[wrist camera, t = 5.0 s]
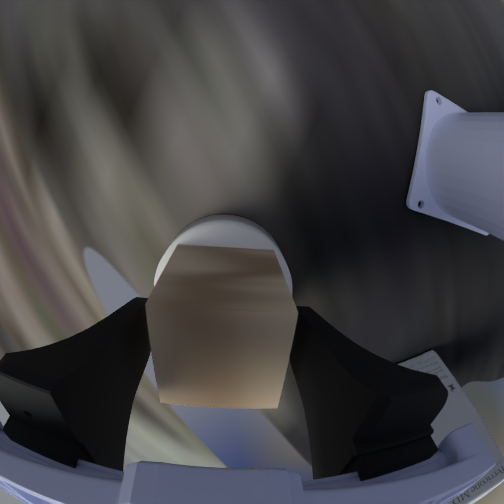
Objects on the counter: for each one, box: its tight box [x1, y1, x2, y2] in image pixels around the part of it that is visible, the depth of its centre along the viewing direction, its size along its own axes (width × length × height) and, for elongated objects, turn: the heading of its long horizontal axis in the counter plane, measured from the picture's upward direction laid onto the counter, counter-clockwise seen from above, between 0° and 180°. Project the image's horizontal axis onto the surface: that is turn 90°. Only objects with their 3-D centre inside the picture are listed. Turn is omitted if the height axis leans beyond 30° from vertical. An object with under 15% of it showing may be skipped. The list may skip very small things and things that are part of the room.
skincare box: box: [398, 350, 504, 504], centre depth 14 cm, size 8×6×15 cm
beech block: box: [145, 244, 298, 408], centre depth 11 cm, size 4×4×6 cm
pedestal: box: [154, 214, 293, 295], centre depth 15 cm, size 7×7×2 cm
